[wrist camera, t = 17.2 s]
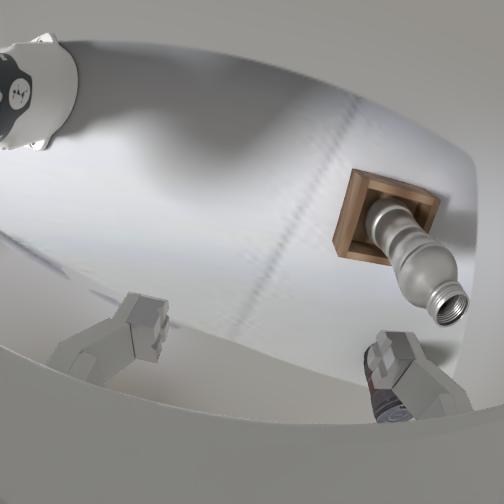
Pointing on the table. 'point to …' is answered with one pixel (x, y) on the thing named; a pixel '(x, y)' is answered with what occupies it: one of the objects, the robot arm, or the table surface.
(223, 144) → the table surface
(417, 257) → the plastic bottle
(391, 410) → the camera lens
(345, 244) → the open wooden box
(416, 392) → the robot arm
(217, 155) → the table surface
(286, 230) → the table surface
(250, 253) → the table surface
